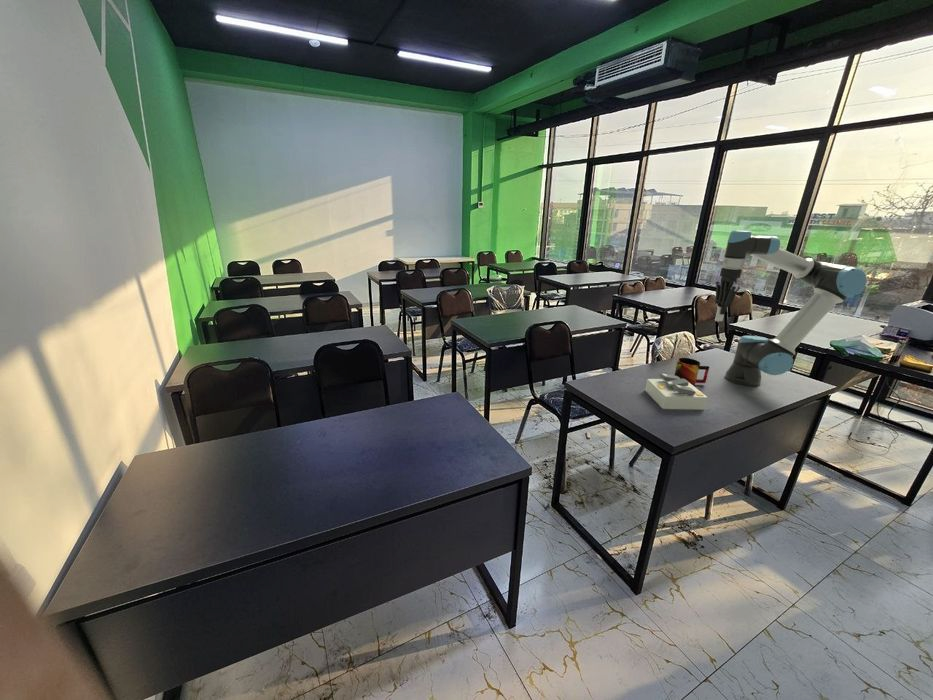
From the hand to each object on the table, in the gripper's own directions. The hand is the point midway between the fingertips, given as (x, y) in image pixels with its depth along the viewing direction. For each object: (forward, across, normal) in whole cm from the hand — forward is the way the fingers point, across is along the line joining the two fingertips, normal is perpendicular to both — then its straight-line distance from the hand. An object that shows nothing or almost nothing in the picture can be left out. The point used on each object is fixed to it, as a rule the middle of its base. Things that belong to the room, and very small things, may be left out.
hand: (718, 320), depth 178 cm
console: (+34, +11, -19) cm, 41 cm away
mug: (+35, -7, -3) cm, 36 cm away
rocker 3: (+26, +17, -19) cm, 37 cm away
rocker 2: (+26, +11, -19) cm, 34 cm away
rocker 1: (+26, +5, -19) cm, 33 cm away
